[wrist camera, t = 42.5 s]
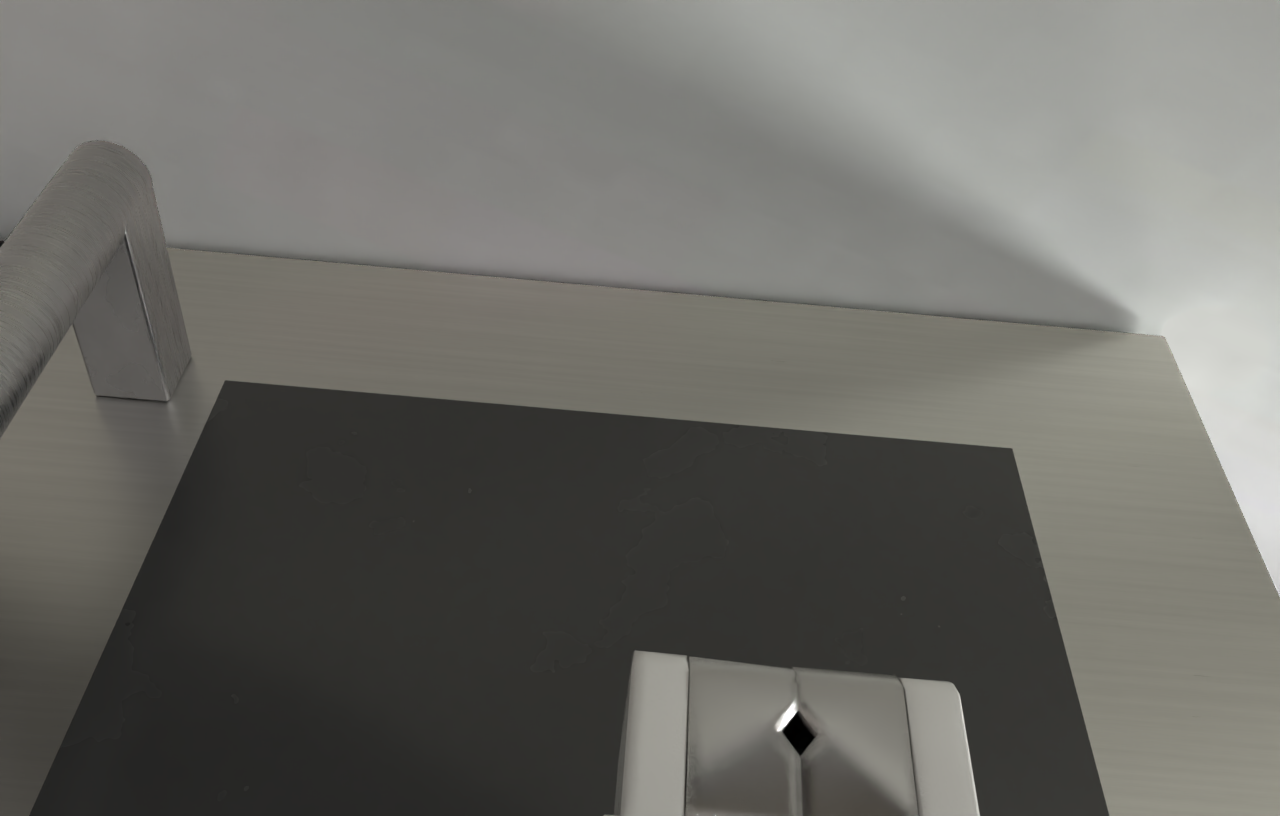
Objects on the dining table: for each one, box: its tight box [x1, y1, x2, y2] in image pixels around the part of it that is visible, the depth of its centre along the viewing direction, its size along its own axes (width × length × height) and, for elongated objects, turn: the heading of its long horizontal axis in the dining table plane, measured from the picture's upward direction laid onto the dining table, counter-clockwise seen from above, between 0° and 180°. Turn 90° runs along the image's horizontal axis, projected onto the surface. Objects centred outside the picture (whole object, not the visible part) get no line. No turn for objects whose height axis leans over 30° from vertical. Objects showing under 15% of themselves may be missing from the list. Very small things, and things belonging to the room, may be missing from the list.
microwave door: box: [0, 140, 1280, 816], centre depth 20 cm, size 7×27×22 cm, turn 86°
